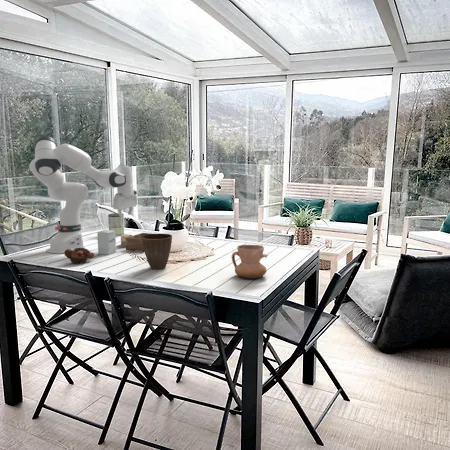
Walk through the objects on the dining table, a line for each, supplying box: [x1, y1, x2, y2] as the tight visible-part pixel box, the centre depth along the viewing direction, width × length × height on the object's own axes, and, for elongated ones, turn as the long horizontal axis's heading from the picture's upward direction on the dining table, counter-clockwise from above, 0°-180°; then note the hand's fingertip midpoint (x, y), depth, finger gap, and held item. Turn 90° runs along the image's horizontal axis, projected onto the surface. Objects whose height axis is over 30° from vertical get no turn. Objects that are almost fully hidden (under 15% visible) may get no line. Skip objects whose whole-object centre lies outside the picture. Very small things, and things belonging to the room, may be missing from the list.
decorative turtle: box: [63, 247, 95, 265], centre depth 234 cm, size 10×15×8 cm, turn 130°
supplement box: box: [96, 229, 117, 256], centre depth 255 cm, size 7×7×13 cm
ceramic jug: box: [231, 244, 269, 280], centre depth 208 cm, size 18×14×14 cm
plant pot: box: [142, 233, 173, 271], centre depth 223 cm, size 15×15×16 cm
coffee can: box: [107, 212, 125, 237], centre depth 309 cm, size 10×10×14 cm
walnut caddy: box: [125, 232, 153, 252], centre depth 269 cm, size 18×14×7 cm
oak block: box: [120, 233, 133, 246], centre depth 274 cm, size 5×5×6 cm
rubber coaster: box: [116, 243, 126, 249], centre depth 274 cm, size 9×9×1 cm
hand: (125, 215), depth 271 cm, fingers open, 8 cm apart
